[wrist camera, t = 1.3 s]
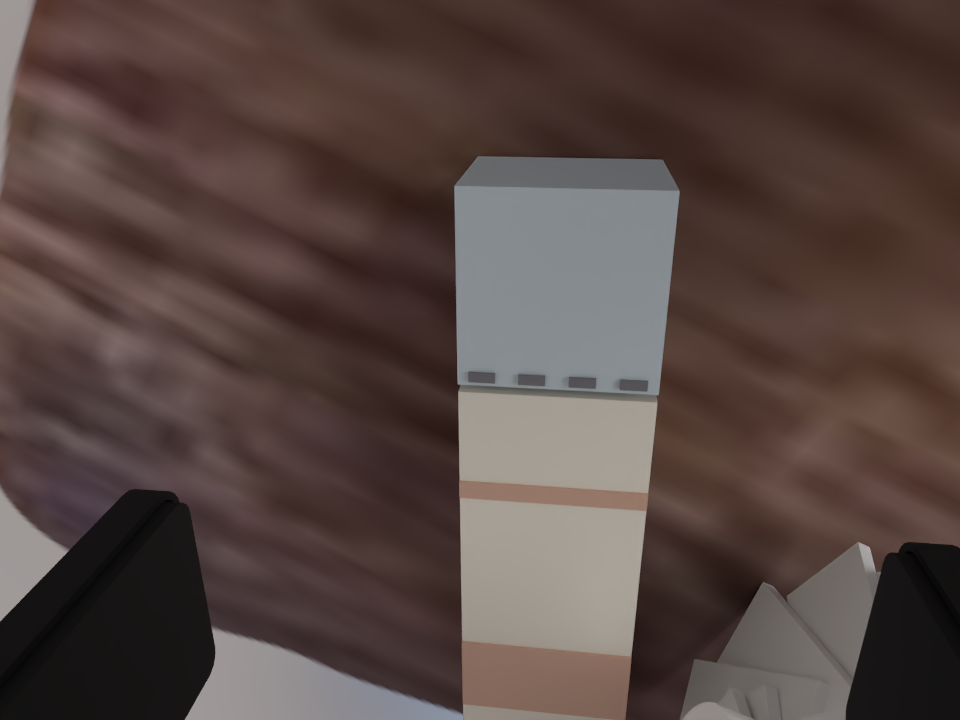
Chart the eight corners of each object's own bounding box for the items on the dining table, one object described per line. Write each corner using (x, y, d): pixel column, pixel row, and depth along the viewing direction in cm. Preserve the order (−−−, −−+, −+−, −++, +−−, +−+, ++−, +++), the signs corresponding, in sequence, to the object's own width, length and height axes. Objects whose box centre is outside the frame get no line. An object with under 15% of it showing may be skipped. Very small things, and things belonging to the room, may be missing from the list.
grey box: (662, 159, 25) (680, 191, 20) (646, 332, 27) (659, 397, 22) (477, 156, 25) (453, 186, 21) (478, 325, 28) (457, 386, 23)
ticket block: (645, 338, 27) (657, 404, 23) (614, 673, 34) (619, 777, 29) (478, 331, 28) (457, 393, 23) (480, 661, 34) (463, 760, 30)
